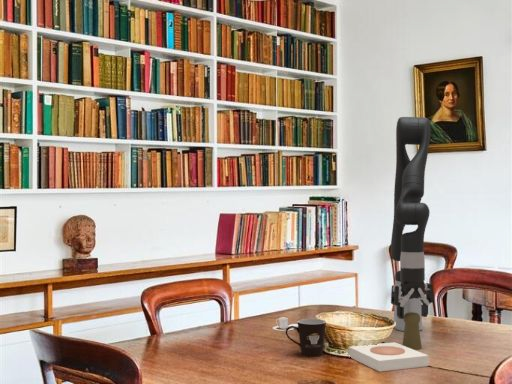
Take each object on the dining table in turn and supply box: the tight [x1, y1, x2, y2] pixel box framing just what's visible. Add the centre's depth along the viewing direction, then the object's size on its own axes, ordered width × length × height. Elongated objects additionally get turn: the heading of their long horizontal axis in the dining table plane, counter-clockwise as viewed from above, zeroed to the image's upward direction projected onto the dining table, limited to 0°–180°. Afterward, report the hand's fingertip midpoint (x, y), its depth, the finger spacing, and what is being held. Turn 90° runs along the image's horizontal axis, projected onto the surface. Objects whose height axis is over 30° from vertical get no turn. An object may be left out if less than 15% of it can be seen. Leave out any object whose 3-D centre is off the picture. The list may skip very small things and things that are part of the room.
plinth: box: [348, 341, 430, 373], centre depth 213 cm, size 18×16×3 cm
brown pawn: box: [402, 312, 423, 351], centre depth 230 cm, size 6×6×11 cm
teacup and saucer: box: [272, 316, 298, 332], centre depth 260 cm, size 9×8×4 cm
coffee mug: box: [285, 318, 327, 358], centre depth 223 cm, size 12×9×10 cm
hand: (412, 317), depth 230 cm, fingers open, 8 cm apart
